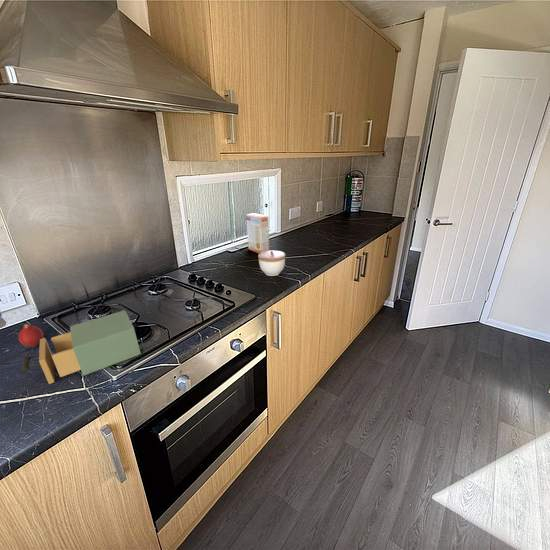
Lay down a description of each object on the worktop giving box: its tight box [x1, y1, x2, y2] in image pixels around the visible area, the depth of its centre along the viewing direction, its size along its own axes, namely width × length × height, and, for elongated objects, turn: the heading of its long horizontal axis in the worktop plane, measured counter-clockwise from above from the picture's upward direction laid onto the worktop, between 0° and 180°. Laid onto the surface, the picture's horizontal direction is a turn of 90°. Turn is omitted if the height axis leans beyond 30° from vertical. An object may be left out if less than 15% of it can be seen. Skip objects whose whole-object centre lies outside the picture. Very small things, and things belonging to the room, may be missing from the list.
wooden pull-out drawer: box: [20, 331, 81, 385], centre depth 79 cm, size 18×11×7 cm, turn 126°
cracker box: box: [245, 212, 270, 255], centre depth 165 cm, size 14×6×21 cm, turn 37°
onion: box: [18, 324, 44, 348], centre depth 89 cm, size 6×6×8 cm
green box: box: [69, 310, 142, 377], centre depth 85 cm, size 15×13×9 cm
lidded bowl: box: [257, 250, 286, 277], centre depth 136 cm, size 13×13×11 cm
